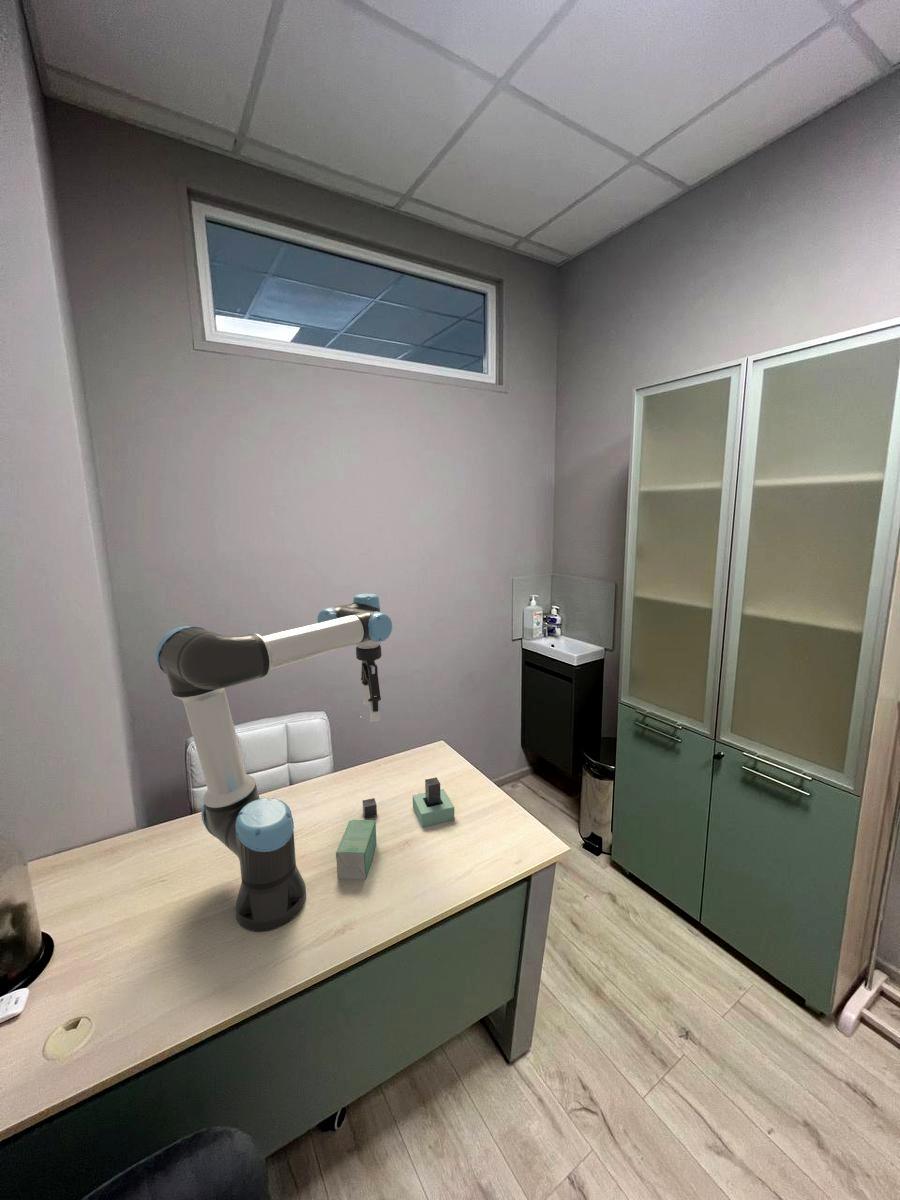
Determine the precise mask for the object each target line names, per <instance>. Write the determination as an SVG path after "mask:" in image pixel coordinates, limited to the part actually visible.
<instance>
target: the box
mask: <svg viewBox="0 0 900 1200" xmlns="http://www.w3.org/2000/svg"><path fill="white" fill-rule="evenodd" d="M376 824H377V823H376V820H374V819H373V820H372V819H351V820H349V821H348V823H347V826H346V828H345V831H344V833H343V835H342V838H341V840H340V842H339V844H338V847H337V849H336V851H335V857H336V858H335V859H336V874H337V878H338V879H339V880H355V881H356V880H363V881H364V880H366V878H367V876H368V872H369V870H370V866H371V864H372V860H373V857H374V854H375V850H376V847H377V825H376Z"/></svg>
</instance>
